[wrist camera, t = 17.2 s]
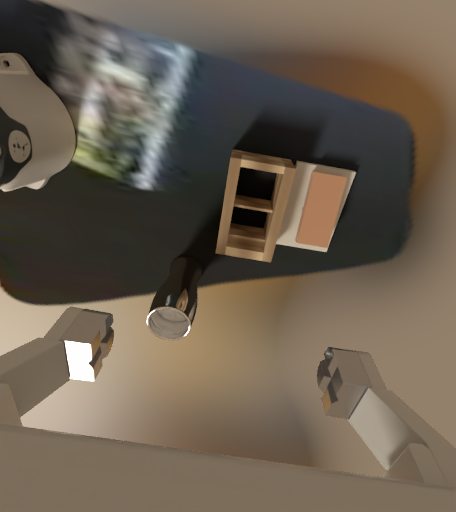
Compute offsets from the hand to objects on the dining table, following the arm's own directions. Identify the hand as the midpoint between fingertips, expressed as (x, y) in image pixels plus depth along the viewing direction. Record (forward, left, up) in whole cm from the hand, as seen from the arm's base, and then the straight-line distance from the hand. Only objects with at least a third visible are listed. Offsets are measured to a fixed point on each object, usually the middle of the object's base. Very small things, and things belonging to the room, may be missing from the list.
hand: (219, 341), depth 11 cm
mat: (+13, -7, -39) cm, 42 cm away
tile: (+14, -6, -37) cm, 40 cm away
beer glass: (-6, -23, -39) cm, 46 cm away
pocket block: (+4, -7, -39) cm, 40 cm away
